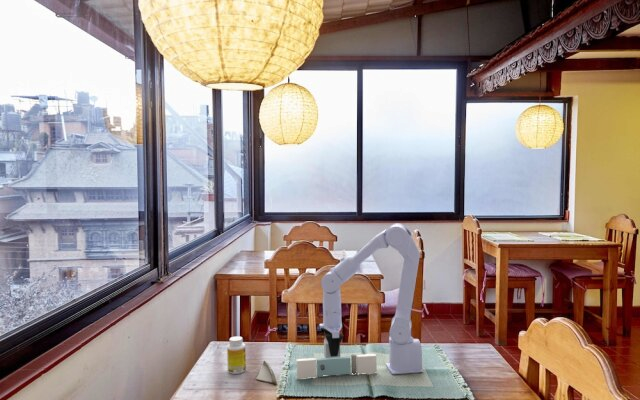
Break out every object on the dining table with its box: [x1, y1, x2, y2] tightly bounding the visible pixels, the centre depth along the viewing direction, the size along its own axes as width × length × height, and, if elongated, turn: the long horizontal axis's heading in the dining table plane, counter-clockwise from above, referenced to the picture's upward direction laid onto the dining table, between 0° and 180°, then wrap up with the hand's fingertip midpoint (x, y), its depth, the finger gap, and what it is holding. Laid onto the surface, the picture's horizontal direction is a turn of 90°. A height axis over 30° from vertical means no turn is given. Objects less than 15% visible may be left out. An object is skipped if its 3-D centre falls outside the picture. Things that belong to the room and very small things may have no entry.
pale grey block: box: [323, 338, 341, 358], centre depth 148 cm, size 4×4×6 cm
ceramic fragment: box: [255, 360, 278, 386], centre depth 140 cm, size 14×5×4 cm, turn 19°
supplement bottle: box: [226, 335, 247, 375], centre depth 144 cm, size 6×6×10 cm
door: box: [316, 355, 352, 377], centre depth 139 cm, size 10×2×5 cm, turn 97°
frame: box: [296, 353, 378, 380], centre depth 139 cm, size 24×2×6 cm, turn 97°
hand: (332, 352), depth 148 cm, fingers closed on pale grey block, 4 cm apart
